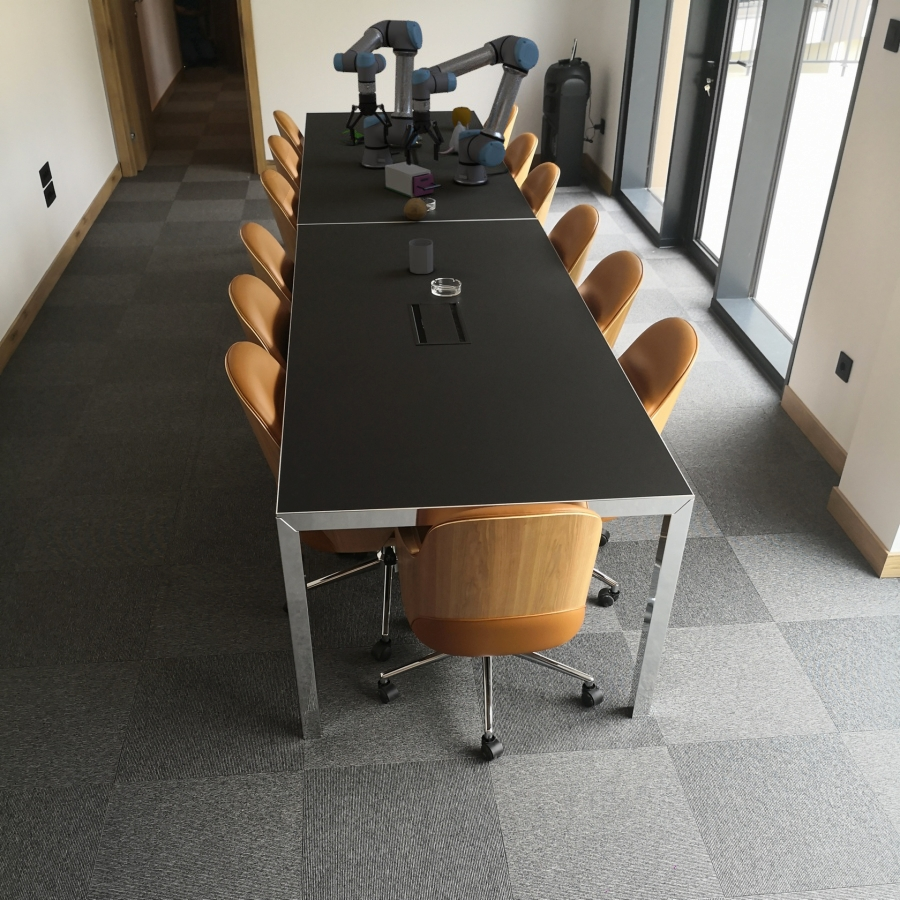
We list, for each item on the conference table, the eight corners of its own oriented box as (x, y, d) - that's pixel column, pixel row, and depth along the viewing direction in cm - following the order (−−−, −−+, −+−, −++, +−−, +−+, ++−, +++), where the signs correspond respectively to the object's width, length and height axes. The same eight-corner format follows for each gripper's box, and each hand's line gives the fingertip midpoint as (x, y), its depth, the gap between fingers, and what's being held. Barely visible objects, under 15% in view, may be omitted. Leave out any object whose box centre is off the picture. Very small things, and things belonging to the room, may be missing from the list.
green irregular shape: (396, 126, 467) (340, 124, 465) (396, 141, 460) (339, 139, 458) (396, 136, 472) (341, 134, 470) (396, 151, 465) (340, 149, 463)
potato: (426, 213, 362) (426, 194, 358) (428, 224, 351) (428, 204, 346) (403, 213, 362) (402, 194, 358) (404, 224, 350) (403, 205, 346)
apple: (471, 132, 486) (471, 108, 479) (451, 132, 486) (451, 108, 479) (470, 128, 495) (471, 104, 488) (452, 128, 495) (452, 104, 488)
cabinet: (430, 192, 388) (430, 170, 383) (410, 197, 382) (410, 174, 377) (405, 183, 400) (405, 161, 395) (385, 188, 394) (384, 165, 389)
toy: (474, 152, 449) (475, 122, 441) (443, 160, 434) (443, 129, 426) (462, 149, 454) (462, 119, 446) (430, 157, 439) (430, 126, 431)
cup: (409, 265, 311) (408, 238, 306) (432, 265, 312) (431, 238, 307) (410, 274, 304) (409, 246, 299) (433, 273, 305) (433, 246, 299)
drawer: (441, 195, 382) (441, 177, 377) (423, 199, 376) (423, 181, 372) (409, 183, 397) (409, 166, 393) (392, 187, 391) (391, 169, 387)
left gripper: (338, 95, 364) (341, 147, 376) (397, 93, 368) (398, 144, 380) (337, 91, 371) (340, 143, 382) (395, 90, 374) (396, 140, 386)
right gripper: (399, 115, 352) (401, 168, 364) (451, 108, 363) (451, 160, 375) (390, 112, 358) (392, 164, 369) (442, 105, 368) (443, 156, 380)
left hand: (369, 144), depth 381 cm, fingers open, 13 cm apart
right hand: (422, 162), depth 372 cm, fingers open, 13 cm apart
